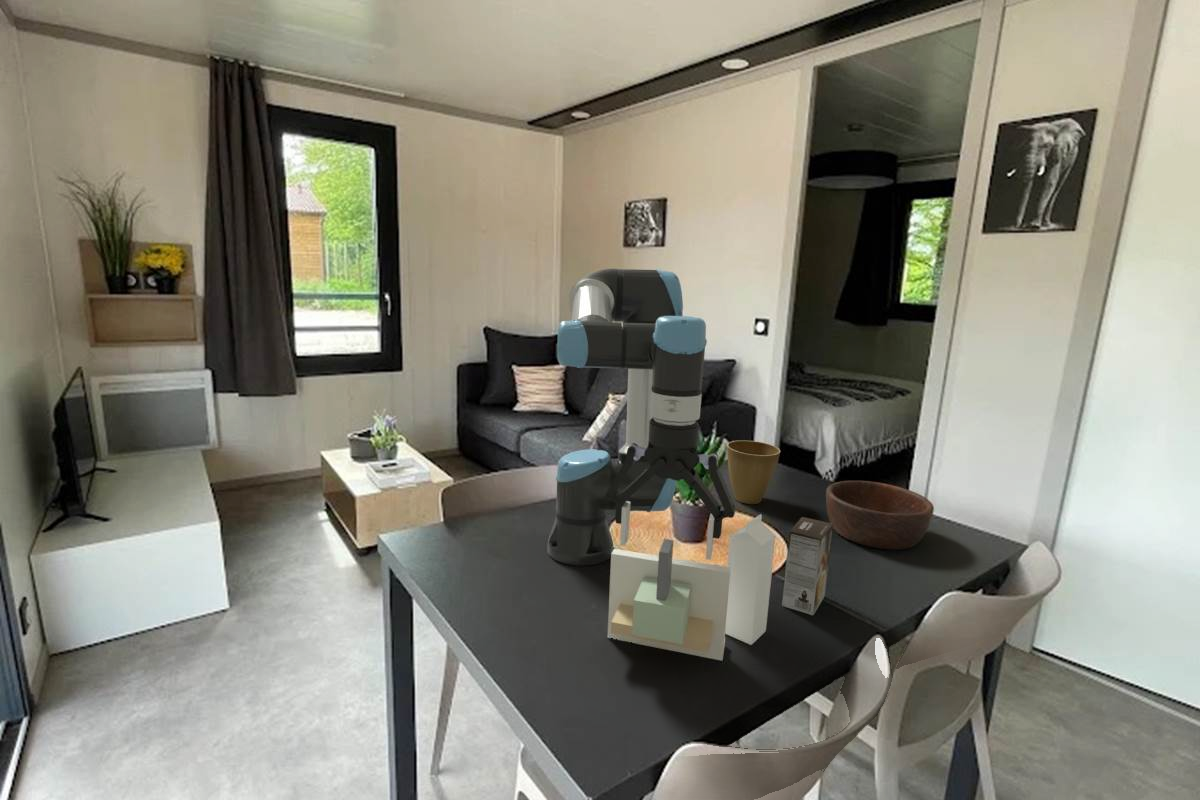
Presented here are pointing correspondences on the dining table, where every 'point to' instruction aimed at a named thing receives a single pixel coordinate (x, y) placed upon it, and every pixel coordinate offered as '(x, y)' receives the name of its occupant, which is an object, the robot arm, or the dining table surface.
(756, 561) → the milk
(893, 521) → the wooden bowl
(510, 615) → the dining table surface
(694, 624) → the wall board
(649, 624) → the green block with handle
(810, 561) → the coffee box
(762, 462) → the plant pot
